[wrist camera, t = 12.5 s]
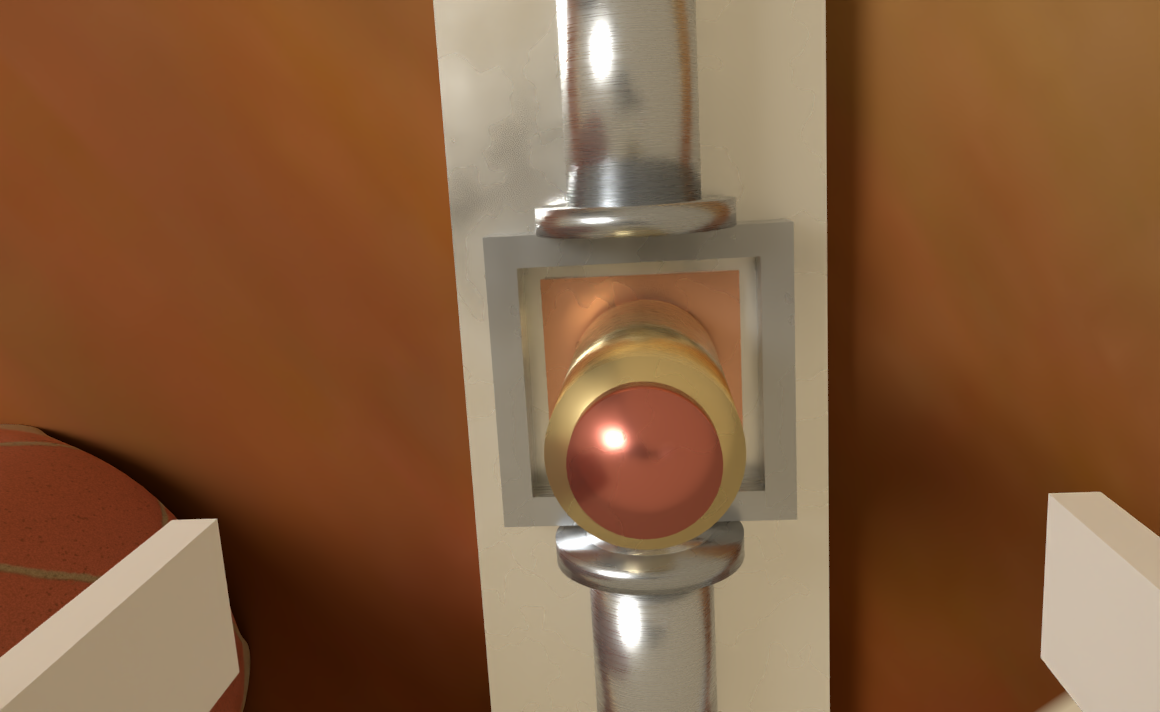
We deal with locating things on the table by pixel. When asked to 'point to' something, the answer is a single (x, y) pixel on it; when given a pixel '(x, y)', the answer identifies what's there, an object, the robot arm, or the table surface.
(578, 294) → the pipeline
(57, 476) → the planter
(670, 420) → the brass cylinder
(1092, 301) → the table surface
